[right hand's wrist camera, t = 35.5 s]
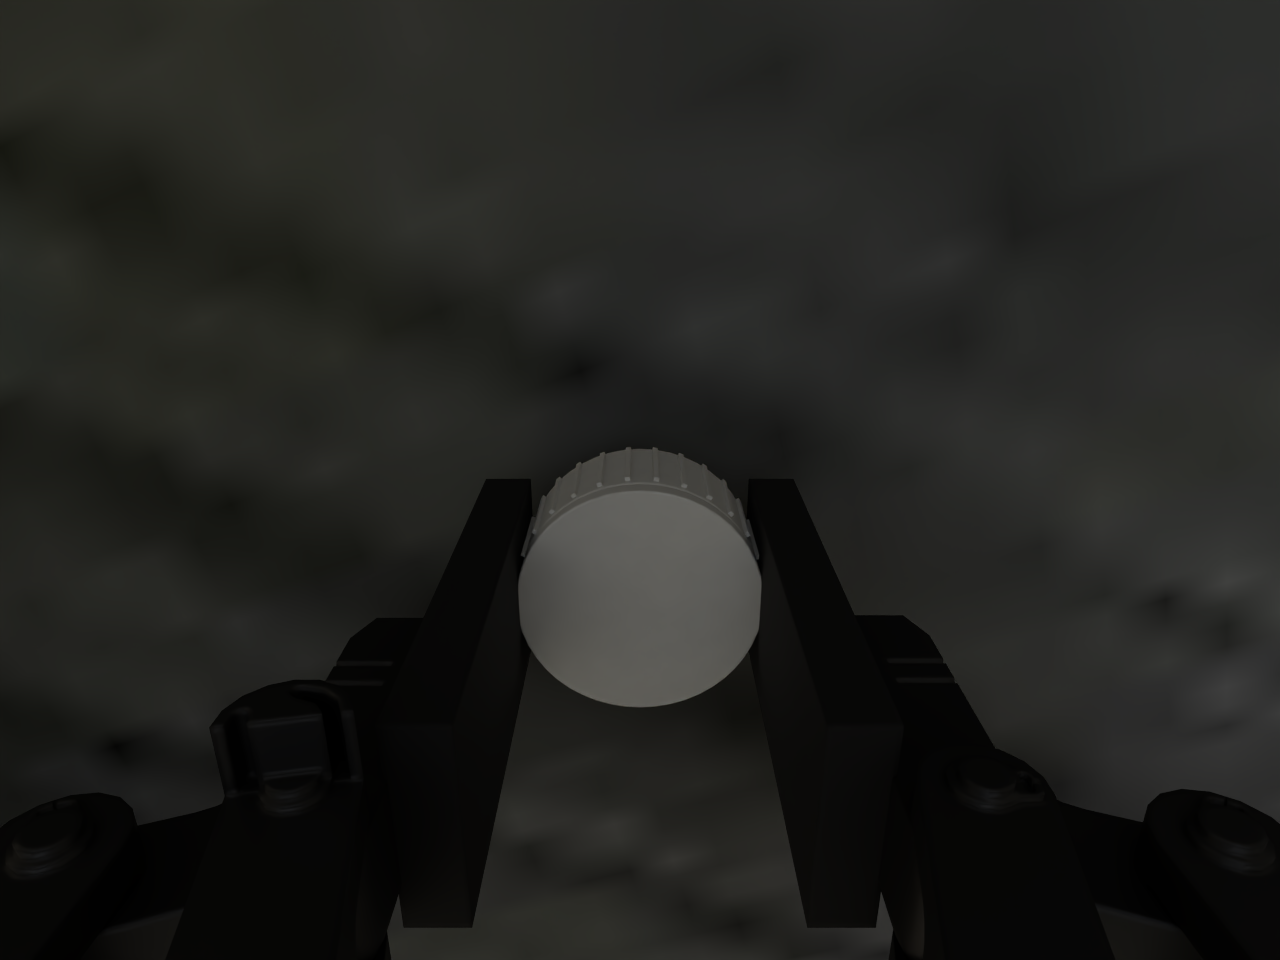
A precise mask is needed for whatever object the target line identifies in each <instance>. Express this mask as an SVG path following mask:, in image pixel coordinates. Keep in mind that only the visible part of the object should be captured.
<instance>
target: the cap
mask: <svg viewBox="0 0 1280 960" xmlns="http://www.w3.org/2000/svg"><path fill="white" fill-rule="evenodd" d="M521 556H523V557H524V559H523V563H522V566H521V570H520V574H519V578H518V596H519V612H520V625H521V629H522V633H523V635H524V637H525V639H526V641H527V643H528V646H529V647H530V649H531V650H532V652H533V653H534V655H535V656H536V658H537V659H538V660H539V662H540V663H541V664H542V665H543V666H544V667H545V669H546V670H547V671H549V672H550V673H551V674H552V675H553V676H554V677H555V678H556V679H558V680H559V681H560V682H562V683H563V684H565V685H566V686H567V687H569V688H571V689H573V690H574V691H576V692H578V693H580V694H582V695H584V696H587V697H589V698H592V699H594V700H597V701H601V702H605V703H608V704H613V705H619V706H626V707H654V706H661V705H667V704H672V703H676V702H679V701H683V700H686V699H688V698H691V697H693V696H696V695H698V694H700V693H702V692H704V691H706V690H708V689H709V688H711V687H713V686H714V685H716V684H717V683H718V682H720V681H721V680H723V679H724V678H725V677H726V676H727V675H728V674H729V673H731V672H732V671H733V670H734V669H735V668H736V667H737V665H738V664H739V663H740V662H741V661H742V659H743V658H744V657H745V655H746V654H747V652H748V650H749V649H750V647H751V646H752V644H753V642H754V640H755V637H756V635H757V633H758V630H759V620H760V603H761V585H762V577H761V573H760V569H759V566H758V562H757V560H759V553H758V549H757V546H756V542H755V539H754V535H753V532H752V528H751V525H750V521H749V519H748V520H746V518H745V514H744V510H743V507H742V503H741V500H740V499H739V498H737V499H735V497H734V496H733V494H732V493H731V491H730V490H729V489H728V487H727V483H726V481H725V480H724V479H722V480H720V479H719V478H717V477H716V476H715V475H714V474H713V473H711V472H710V471H709V470H707V466H706V465H704V464H702V465H699V464H698V463H696V462H694V461H692V460H689V459H687V458H685V457H684V455H683V454H681V453H679V454H678V455H676V454H673V453H670V452H665V451H659V450H658V448H654V447H653V449H631V447H626V450H621V451H616V452H610V453H607V454H605V452H602V453H600V456H598V457H595V458H593V459H591V460H589V461H587V462H584V463H581V462H579V463H577V464H576V468H575V469H573V470H571V471H570V472H569V473H568V474H566V475H565V476H564V477H563V478H561V477H558V478H557V479H556V483H555V486H554V487H553V488H552V489H551V490H550V492H549V493H548V495H547V496H544V495H543V496H542V498H541V500H540V504H539V507H538V511H537V514H536V517H533V516H532V518H531V521H530V524H529V528H528V531H527V535H526V538H525V542H524V545H523V549H522V552H521Z"/></svg>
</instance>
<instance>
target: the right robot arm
mask: <svg viewBox="0 0 1280 960" xmlns="http://www.w3.org/2000/svg"><path fill="white" fill-rule="evenodd" d="M531 518H532V497H531V479H486V481H485V483H484V485H483V487H482V489H481V492H480V494H479V496H478V498H477V501H476V503H475V505H474V507H473V509H472V512H471V514H470V516H469V518H468V521H467V523H466V525H465V527H464V529H463V532H462V534H461V536H460V538H459V540H458V543H457V545H456V547H455V549H454V552H453V554H452V556H451V558H450V560H449V563H448V565H447V567H446V569H445V572H444V574H443V576H442V578H441V580H440V583H439V585H438V587H437V589H436V592H435V594H434V596H433V598H432V600H431V603H430V605H429V607H428V609H427V612H426V614H425V616H424V618H376V619H375V620H374V621H372V622H371V623H370V624H368V625H367V626H366V627H364V628H363V629H362V630H360V631H359V632H358V633H357V634H355V635H354V636H353V637H351V638H350V640H349V641H348V643H347V645H346V646H345V648H344V650H343V652H342V653H341V655H340V657H339V659H338V660H337V666H334V667H333V669H332V671H331V672H330V674H329V676H328V678H327V679H326V681H321V680H292V681H287V682H282V683H277V684H272V685H268V686H265V687H263V688H261V689H258V690H256V691H254V692H251V693H249V694H246V695H244V696H242V697H241V698H239V699H238V700H236V701H235V702H234V703H232V704H231V705H229V706H228V707H227V708H225V709H224V710H222V711H221V713H220V714H219V715H218V717H217V718H216V719H215V721H214V722H213V723H212V725H211V726H210V727H209V728H210V733H211V737H212V741H213V746H214V750H215V755H216V759H217V763H218V768H219V772H220V776H221V781H222V785H223V789H224V794H225V798H224V800H223V803H222V804H220V805H218V806H216V807H212V808H209V809H206V810H202V811H199V812H196V813H192V814H187V815H183V816H179V817H174V818H170V819H165V820H161V821H157V822H152V823H148V824H143V825H139V826H137V823H136V820H135V816H134V813H133V809H132V808H131V807H130V806H129V805H128V804H127V803H126V802H125V801H124V800H123V799H122V798H120V797H117V796H112V795H107V794H103V793H90V794H79V795H70V796H67V797H64V798H61V799H57V800H54V801H51V802H48V803H45V804H41V805H39V806H37V807H35V808H33V809H31V810H29V811H27V812H25V813H23V814H22V815H20V816H18V817H16V818H14V819H12V820H10V821H9V822H7V823H6V824H5V825H4V826H2V827H1V828H0V960H391V955H390V948H389V942H388V935H387V929H388V926H389V923H390V919H391V916H392V913H393V910H394V907H395V904H396V901H397V897H398V894H399V898H400V905H401V912H402V919H403V926H404V928H472V925H473V921H474V916H475V911H476V907H477V902H478V897H479V892H480V888H481V883H482V878H483V874H484V869H485V864H486V859H487V855H488V850H489V845H490V841H491V836H492V831H493V826H494V822H495V817H496V812H497V808H498V803H499V798H500V793H501V789H502V784H503V779H504V775H505V770H506V765H507V760H508V756H509V751H510V746H511V742H512V737H513V732H514V727H515V723H516V718H517V713H518V708H519V704H520V699H521V694H522V690H523V685H524V680H525V675H526V671H527V666H528V661H529V657H530V652H531V649H530V647H529V646H528V643H527V641H526V639H525V637H524V635H523V633H522V629H521V625H520V612H519V596H518V578H519V574H520V570H521V566H522V563H523V559H524V557H523V556H521V552H522V549H523V545H524V542H525V538H526V535H527V531H528V528H529V524H530V521H531ZM748 519H749V521H750V525H751V528H752V532H753V535H754V539H755V542H756V546H757V549H758V553H759V560H757V562H758V566H759V569H760V573H761V577H762V585H761V603H760V620H759V630H758V633H757V635H756V637H755V640H754V642H753V644H752V646H751V647H750V649H749V654H750V659H751V664H752V669H753V673H754V678H755V683H756V687H757V692H758V697H759V702H760V706H761V711H762V716H763V720H764V725H765V730H766V735H767V739H768V744H769V749H770V754H771V758H772V763H773V768H774V772H775V777H776V782H777V787H778V791H779V796H780V801H781V805H782V810H783V815H784V820H785V824H786V829H787V834H788V838H789V843H790V848H791V853H792V857H793V862H794V867H795V871H796V876H797V881H798V886H799V890H800V895H801V900H802V904H803V909H804V914H805V919H806V923H807V928H876V922H877V915H878V908H879V901H880V894H881V892H882V895H883V898H884V901H885V904H886V908H887V911H888V914H889V917H890V920H891V923H892V926H893V935H892V942H891V948H890V955H889V960H1280V824H1279V823H1278V822H1277V821H1275V820H1274V819H1273V818H1272V817H1270V816H1268V815H1266V814H1264V813H1262V812H1260V811H1258V810H1256V809H1254V808H1253V807H1251V806H1249V805H1247V804H1245V803H1243V802H1241V801H1238V800H1235V799H1231V798H1228V797H1225V796H1222V795H1219V794H1215V793H1212V792H1207V791H1197V790H1186V789H1180V790H1175V791H1170V792H1165V793H1161V794H1159V795H1158V796H1157V797H1156V798H1155V799H1154V800H1153V801H1152V802H1151V803H1149V804H1148V807H1147V810H1146V814H1145V817H1144V821H1143V822H1138V821H1134V820H1130V819H1125V818H1121V817H1116V816H1112V815H1108V814H1103V813H1099V812H1094V811H1090V810H1086V809H1082V808H1079V807H1076V806H1072V805H1069V804H1066V803H1063V802H1060V801H1058V800H1057V799H1056V796H1055V794H1054V793H1053V791H1052V789H1051V788H1050V786H1049V785H1048V783H1047V782H1046V780H1045V779H1044V777H1043V776H1042V775H1040V774H1039V773H1038V772H1037V771H1035V770H1034V769H1033V768H1032V767H1030V766H1029V765H1028V764H1027V763H1025V762H1024V761H1022V760H1020V759H1018V758H1016V757H1014V756H1012V755H1010V754H1008V753H1006V752H1003V751H1001V750H999V749H995V747H994V745H993V744H992V742H991V740H990V739H989V737H988V735H987V733H986V732H985V730H984V728H983V727H982V725H981V723H980V721H979V720H978V718H977V716H976V715H975V713H974V711H973V709H972V708H971V706H970V704H969V702H968V701H967V699H966V697H965V696H964V694H963V692H962V690H961V689H960V687H959V685H958V684H957V683H955V682H954V677H953V675H952V673H951V672H950V670H949V668H948V666H947V665H946V664H944V663H943V658H942V656H941V654H940V653H939V651H938V649H937V648H936V646H935V644H934V642H933V641H932V639H931V637H930V636H929V635H928V634H927V633H925V632H924V631H923V630H921V629H920V628H919V627H918V626H916V625H915V624H914V623H912V622H911V621H910V620H908V619H907V618H906V617H904V616H903V615H854V613H853V611H852V608H851V606H850V604H849V602H848V600H847V597H846V595H845V593H844V591H843V588H842V586H841V584H840V582H839V580H838V577H837V575H836V573H835V571H834V568H833V566H832V564H831V562H830V560H829V557H828V555H827V553H826V551H825V548H824V546H823V544H822V542H821V540H820V537H819V535H818V533H817V531H816V528H815V526H814V524H813V522H812V520H811V517H810V515H809V513H808V511H807V508H806V506H805V504H804V502H803V500H802V497H801V495H800V493H799V491H798V488H797V486H796V484H795V482H794V480H793V479H749V486H748V506H747V520H748Z"/></svg>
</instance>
